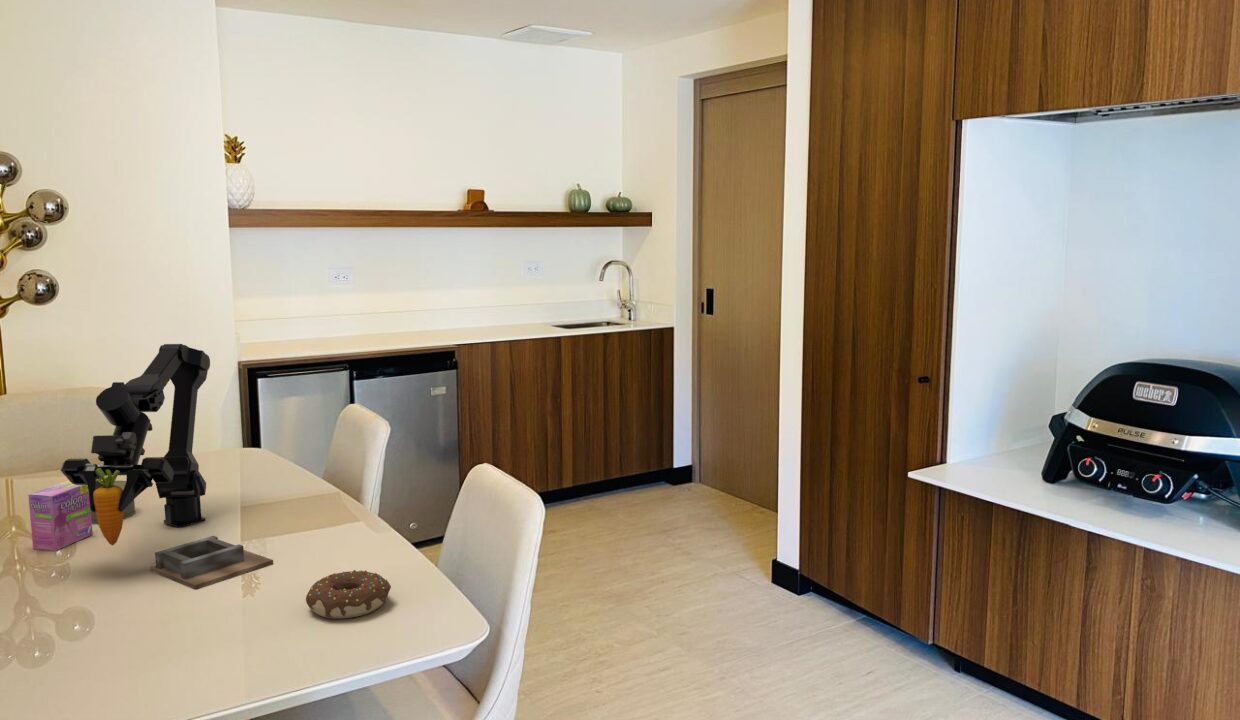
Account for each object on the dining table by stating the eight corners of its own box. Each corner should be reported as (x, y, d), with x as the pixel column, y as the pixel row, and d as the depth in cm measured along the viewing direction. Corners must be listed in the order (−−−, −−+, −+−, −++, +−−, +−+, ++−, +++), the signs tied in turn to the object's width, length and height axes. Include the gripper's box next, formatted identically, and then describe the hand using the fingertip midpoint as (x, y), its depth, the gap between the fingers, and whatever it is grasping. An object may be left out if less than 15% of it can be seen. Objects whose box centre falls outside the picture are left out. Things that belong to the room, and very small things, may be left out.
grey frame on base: (227, 547, 193) (226, 529, 192) (273, 563, 184) (272, 545, 183) (150, 570, 180) (148, 551, 180) (195, 589, 171) (194, 569, 170)
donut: (346, 630, 154) (345, 601, 153) (291, 612, 161) (289, 584, 160) (409, 600, 166) (407, 573, 165) (354, 585, 173) (353, 559, 172)
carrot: (133, 542, 178) (127, 465, 176) (111, 551, 173) (104, 472, 171) (114, 539, 180) (107, 463, 177) (91, 547, 175) (84, 469, 173)
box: (56, 551, 191) (50, 495, 190) (32, 549, 192) (26, 493, 191) (94, 535, 201) (89, 481, 200) (71, 533, 202) (66, 480, 201)
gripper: (61, 417, 176) (34, 491, 167) (162, 416, 177) (141, 489, 168) (86, 448, 185) (61, 519, 176) (182, 446, 186) (163, 517, 177)
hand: (106, 510), depth 174 cm, fingers closed on carrot, 5 cm apart
